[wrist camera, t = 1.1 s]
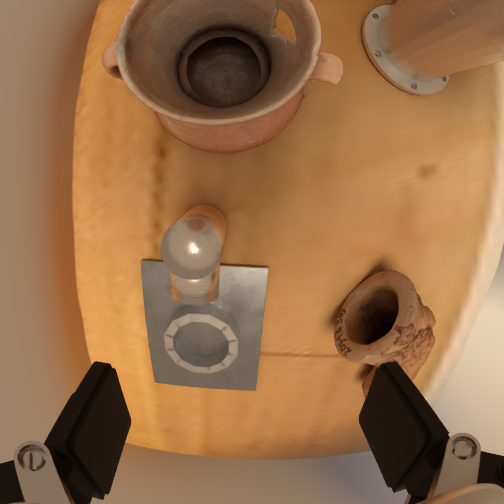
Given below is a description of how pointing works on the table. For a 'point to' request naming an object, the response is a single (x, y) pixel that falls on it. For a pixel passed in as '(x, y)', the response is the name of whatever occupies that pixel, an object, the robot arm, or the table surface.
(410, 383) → the robot arm
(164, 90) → the ceramic jug
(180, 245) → the grey rounded piece
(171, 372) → the flange
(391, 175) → the table surface
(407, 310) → the clay pipe
